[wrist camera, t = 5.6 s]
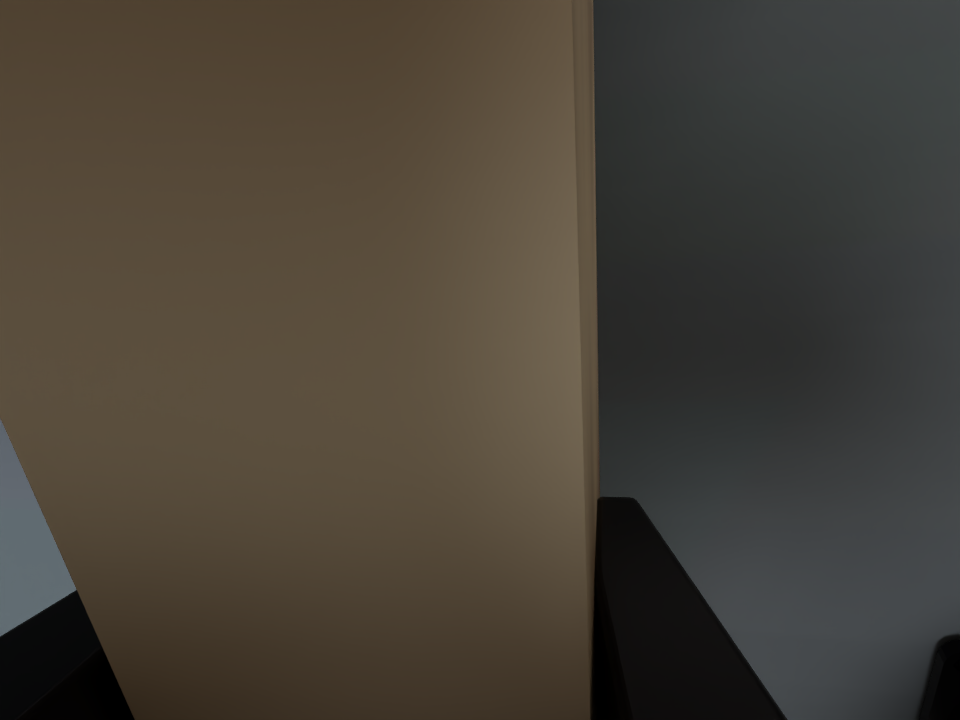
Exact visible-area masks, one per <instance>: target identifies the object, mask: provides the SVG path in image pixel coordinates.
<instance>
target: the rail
mask: <svg viewBox="0 0 960 720" xmlns="http://www.w3.org/2000/svg"><path fill="white" fill-rule="evenodd" d="M0 418H1V421H2V423H3V425H4V427H5V430H6V432H7V434H8V436H9V439H10V441H11V443H12V445H13V448H14V450H15V452H16V454H17V457H18V459H19V461H20V463H21V465H22V468H23V470H24V472H25V474H26V477H27V479H28V481H29V483H30V486H31V488H32V490H33V492H34V495H35V497H36V499H37V501H38V504H39V506H40V508H41V510H42V513H43V515H44V517H45V519H46V522H47V524H48V526H49V528H50V531H51V533H52V535H53V537H54V540H55V542H56V544H57V546H58V549H59V551H60V553H61V555H62V558H63V560H64V562H65V564H66V567H67V569H68V571H69V573H70V576H71V578H72V580H73V582H74V585H75V587H76V589H77V591H78V594H79V596H80V598H81V600H82V603H83V605H84V607H85V609H86V612H87V614H88V616H89V618H90V621H91V623H92V625H93V627H94V630H95V632H96V634H97V636H98V638H99V641H100V643H101V645H102V647H103V650H104V652H105V654H106V656H107V659H108V661H109V663H110V665H111V668H112V670H113V672H114V674H115V677H116V679H117V681H118V683H119V686H120V688H121V690H122V692H123V695H124V697H125V699H126V701H127V704H128V706H129V708H130V710H131V713H132V715H133V717H134V719H135V720H597V700H596V648H595V596H594V578H595V549H596V522H597V499H598V498H599V497H600V474H599V401H598V328H597V254H596V181H595V108H594V35H593V0H0Z"/></svg>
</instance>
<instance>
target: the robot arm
mask: <svg viewBox="0 0 960 720" xmlns="http://www.w3.org/2000/svg"><path fill="white" fill-rule="evenodd" d="M594 596H595V648H596V700H597V720H787V718H786V717H785V715H784V714H783V713H782V711H781V710H780V708H779V707H778V705H777V704H776V702H775V701H774V699H773V698H772V696H771V695H770V694H769V692H768V691H767V689H766V688H765V686H764V685H763V683H762V682H761V680H760V679H759V678H758V676H757V675H756V673H755V672H754V670H753V669H752V667H751V666H750V664H749V663H748V662H747V660H746V659H745V657H744V656H743V654H742V653H741V651H740V650H739V648H738V647H737V645H736V644H735V643H734V641H733V640H732V638H731V637H730V635H729V634H728V632H727V631H726V629H725V628H724V627H723V625H722V624H721V622H720V621H719V619H718V618H717V616H716V615H715V613H714V612H713V611H712V609H711V608H710V606H709V605H708V603H707V602H706V600H705V599H704V597H703V596H702V595H701V593H700V592H699V590H698V589H697V587H696V586H695V584H694V583H693V581H692V580H691V578H690V577H689V576H688V574H687V573H686V571H685V570H684V568H683V567H682V565H681V564H680V562H679V561H678V560H677V558H676V557H675V555H674V554H673V552H672V551H671V549H670V548H669V546H668V545H667V544H666V542H665V541H664V539H663V538H662V536H661V535H660V533H659V532H658V530H657V529H656V527H655V526H654V525H653V523H652V522H651V520H650V519H649V517H648V516H647V514H646V513H645V511H644V510H643V509H642V507H641V506H640V504H639V503H638V502H637V500H635V499H634V498H630V497H599V498H598V499H597V522H596V549H595V578H594ZM0 720H135V719H134V717H133V715H132V713H131V710H130V708H129V706H128V704H127V701H126V699H125V697H124V695H123V692H122V690H121V688H120V686H119V683H118V681H117V679H116V677H115V674H114V672H113V670H112V668H111V665H110V663H109V661H108V659H107V656H106V654H105V652H104V650H103V647H102V645H101V643H100V641H99V638H98V636H97V634H96V632H95V630H94V627H93V625H92V623H91V621H90V618H89V616H88V614H87V612H86V609H85V607H84V605H83V603H82V600H81V598H80V596H79V594H78V591H77V590H76V591H74V592H73V593H71V594H69V595H68V596H66V597H64V598H63V599H61V600H59V601H58V602H56V603H55V604H53V605H51V606H50V607H48V608H46V609H45V610H43V611H41V612H40V613H38V614H37V615H35V616H33V617H32V618H30V619H28V620H27V621H25V622H23V623H22V624H20V625H18V626H17V627H15V628H14V629H12V630H10V631H9V632H7V633H5V634H4V635H2V636H0ZM919 720H960V640H953V641H950V642H947V643H945V644H944V645H943V646H941V647H940V649H939V651H938V653H937V657H936V661H935V664H934V668H933V671H932V675H931V679H930V682H929V686H928V689H927V693H926V696H925V700H924V704H923V707H922V711H921V714H920V718H919Z"/></svg>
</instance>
